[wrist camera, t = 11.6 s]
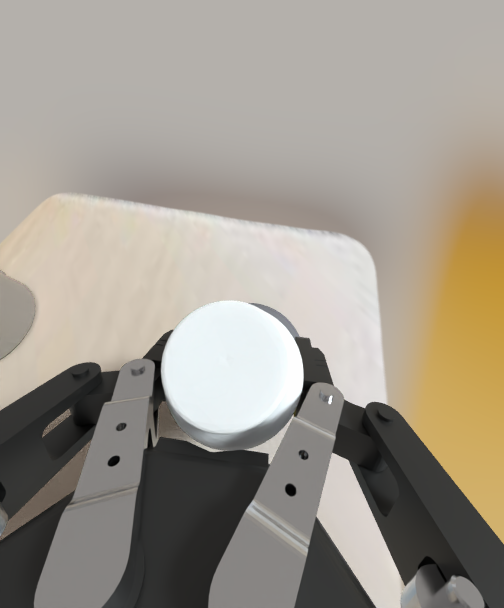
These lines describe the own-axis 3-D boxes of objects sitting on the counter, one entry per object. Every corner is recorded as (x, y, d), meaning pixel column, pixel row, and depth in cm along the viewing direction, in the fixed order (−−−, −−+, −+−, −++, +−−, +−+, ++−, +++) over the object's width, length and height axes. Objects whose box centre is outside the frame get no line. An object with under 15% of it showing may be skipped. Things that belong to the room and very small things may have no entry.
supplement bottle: (259, 330, 18) (265, 253, 8) (297, 400, 16) (361, 404, 6) (191, 364, 17) (110, 321, 7) (223, 443, 15) (168, 521, 5)
